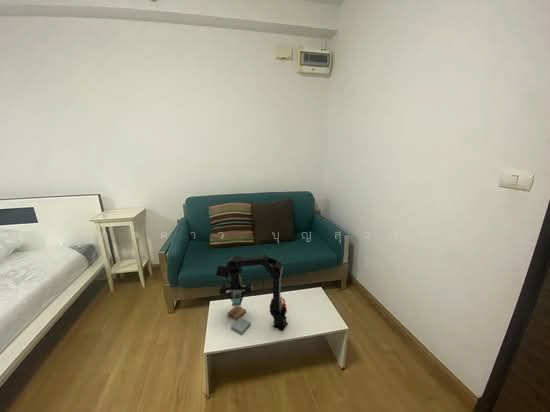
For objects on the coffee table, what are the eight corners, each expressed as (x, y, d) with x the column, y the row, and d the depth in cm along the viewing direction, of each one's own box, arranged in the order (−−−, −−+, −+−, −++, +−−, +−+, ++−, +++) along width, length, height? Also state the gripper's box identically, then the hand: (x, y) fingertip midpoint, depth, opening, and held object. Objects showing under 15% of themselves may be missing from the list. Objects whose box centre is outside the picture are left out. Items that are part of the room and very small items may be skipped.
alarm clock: (283, 294, 155) (288, 305, 140) (284, 303, 155) (288, 315, 140) (268, 296, 153) (271, 307, 138) (269, 305, 153) (272, 317, 139)
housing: (242, 298, 139) (241, 291, 138) (240, 306, 133) (239, 298, 131) (234, 298, 139) (233, 291, 138) (232, 306, 133) (231, 299, 131)
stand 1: (246, 312, 144) (245, 309, 143) (237, 321, 137) (237, 317, 137) (236, 308, 148) (236, 305, 147) (227, 316, 141) (227, 312, 141)
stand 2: (250, 325, 133) (250, 322, 133) (242, 335, 127) (241, 331, 126) (240, 320, 138) (239, 317, 137) (231, 329, 131) (230, 326, 130)
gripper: (252, 269, 139) (253, 291, 144) (221, 271, 139) (224, 293, 144) (250, 280, 129) (252, 303, 133) (217, 281, 129) (220, 305, 133)
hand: (237, 301), depth 136 cm, fingers closed on housing, 5 cm apart
